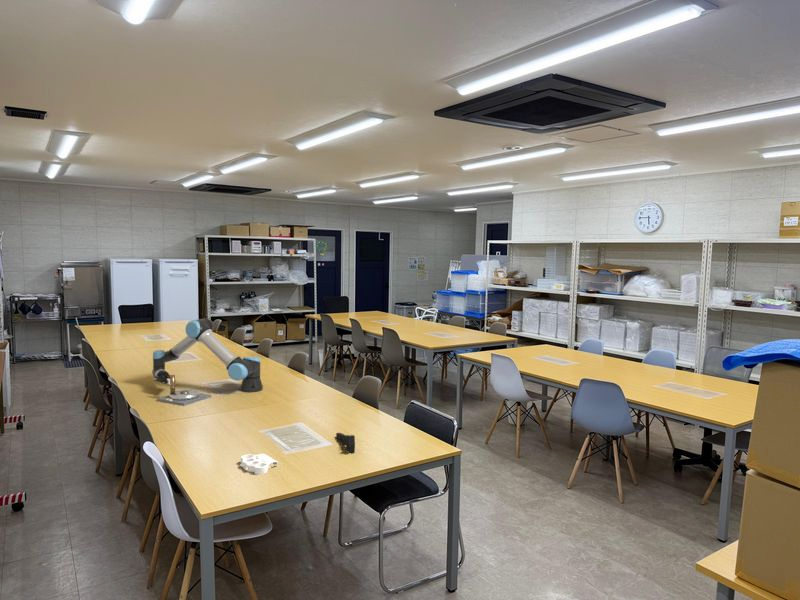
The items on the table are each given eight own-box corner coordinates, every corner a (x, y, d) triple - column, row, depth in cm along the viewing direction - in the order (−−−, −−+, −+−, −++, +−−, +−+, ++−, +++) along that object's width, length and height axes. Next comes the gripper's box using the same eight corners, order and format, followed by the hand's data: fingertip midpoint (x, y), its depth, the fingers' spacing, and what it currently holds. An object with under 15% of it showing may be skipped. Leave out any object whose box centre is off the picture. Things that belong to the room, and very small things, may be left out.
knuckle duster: (281, 469, 235) (251, 478, 225) (262, 457, 248) (232, 465, 239) (281, 461, 235) (251, 470, 225) (262, 450, 248) (232, 457, 238)
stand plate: (211, 397, 348) (211, 393, 348) (184, 405, 327) (184, 402, 327) (185, 392, 357) (185, 389, 357) (157, 401, 336) (156, 397, 336)
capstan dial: (201, 397, 339) (201, 376, 338) (171, 401, 330) (171, 379, 328) (196, 391, 354) (196, 370, 353) (167, 394, 345) (167, 373, 344)
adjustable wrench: (341, 446, 276) (355, 453, 253) (336, 447, 275) (349, 454, 252) (340, 430, 277) (354, 435, 254) (335, 430, 276) (349, 436, 253)
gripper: (172, 379, 367) (180, 387, 348) (152, 382, 360) (159, 389, 341) (172, 369, 367) (180, 375, 348) (151, 371, 359) (159, 378, 340)
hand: (170, 382), depth 344 cm, fingers closed
